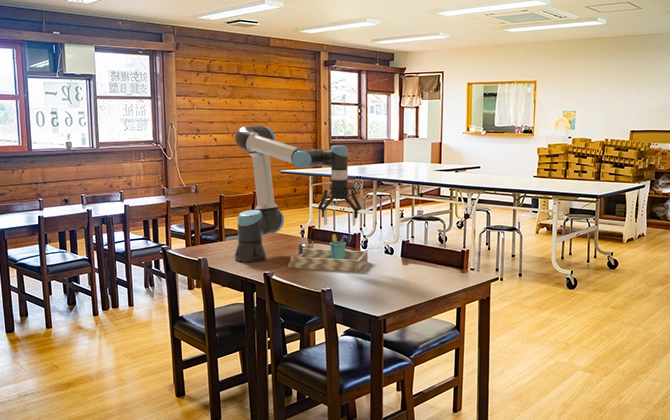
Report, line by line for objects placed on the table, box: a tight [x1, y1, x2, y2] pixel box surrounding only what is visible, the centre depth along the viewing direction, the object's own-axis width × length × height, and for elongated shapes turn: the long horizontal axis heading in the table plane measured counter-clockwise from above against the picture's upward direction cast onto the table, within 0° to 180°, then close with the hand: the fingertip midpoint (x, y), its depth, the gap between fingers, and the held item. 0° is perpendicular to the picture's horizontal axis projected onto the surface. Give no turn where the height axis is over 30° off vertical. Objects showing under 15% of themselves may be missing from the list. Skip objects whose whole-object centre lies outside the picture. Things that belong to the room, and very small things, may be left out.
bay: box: [287, 248, 369, 273], centre depth 295 cm, size 33×20×5 cm, turn 76°
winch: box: [297, 241, 314, 257], centre depth 314 cm, size 7×5×8 cm
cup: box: [329, 233, 350, 259], centre depth 293 cm, size 14×8×15 cm, turn 37°
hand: (339, 224), depth 291 cm, fingers open, 13 cm apart
